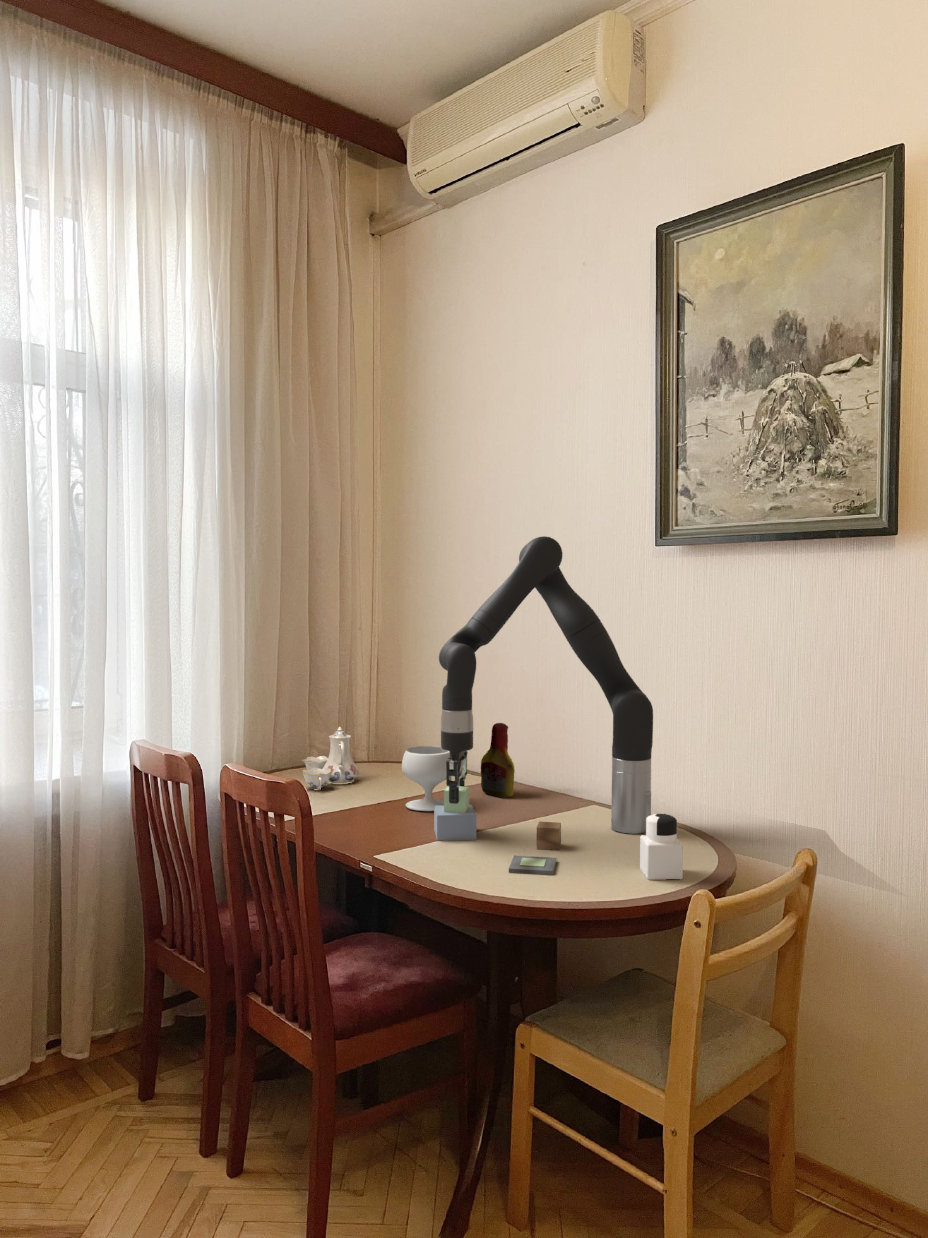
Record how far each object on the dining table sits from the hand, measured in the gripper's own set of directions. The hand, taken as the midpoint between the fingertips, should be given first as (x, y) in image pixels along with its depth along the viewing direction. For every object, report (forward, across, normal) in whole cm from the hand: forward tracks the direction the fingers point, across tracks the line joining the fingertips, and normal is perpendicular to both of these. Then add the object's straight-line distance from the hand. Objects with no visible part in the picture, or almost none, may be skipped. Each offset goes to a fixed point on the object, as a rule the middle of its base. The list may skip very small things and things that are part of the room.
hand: (456, 799), depth 217 cm
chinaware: (+9, +47, +47) cm, 67 cm away
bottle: (+8, +40, -4) cm, 41 cm away
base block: (+8, 0, 0) cm, 8 cm away
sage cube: (+2, 0, 0) cm, 2 cm away
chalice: (+8, +24, +12) cm, 28 cm away
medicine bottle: (+8, -21, -46) cm, 51 cm away
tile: (+8, -21, -20) cm, 30 cm away
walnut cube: (+8, -6, -22) cm, 24 cm away
